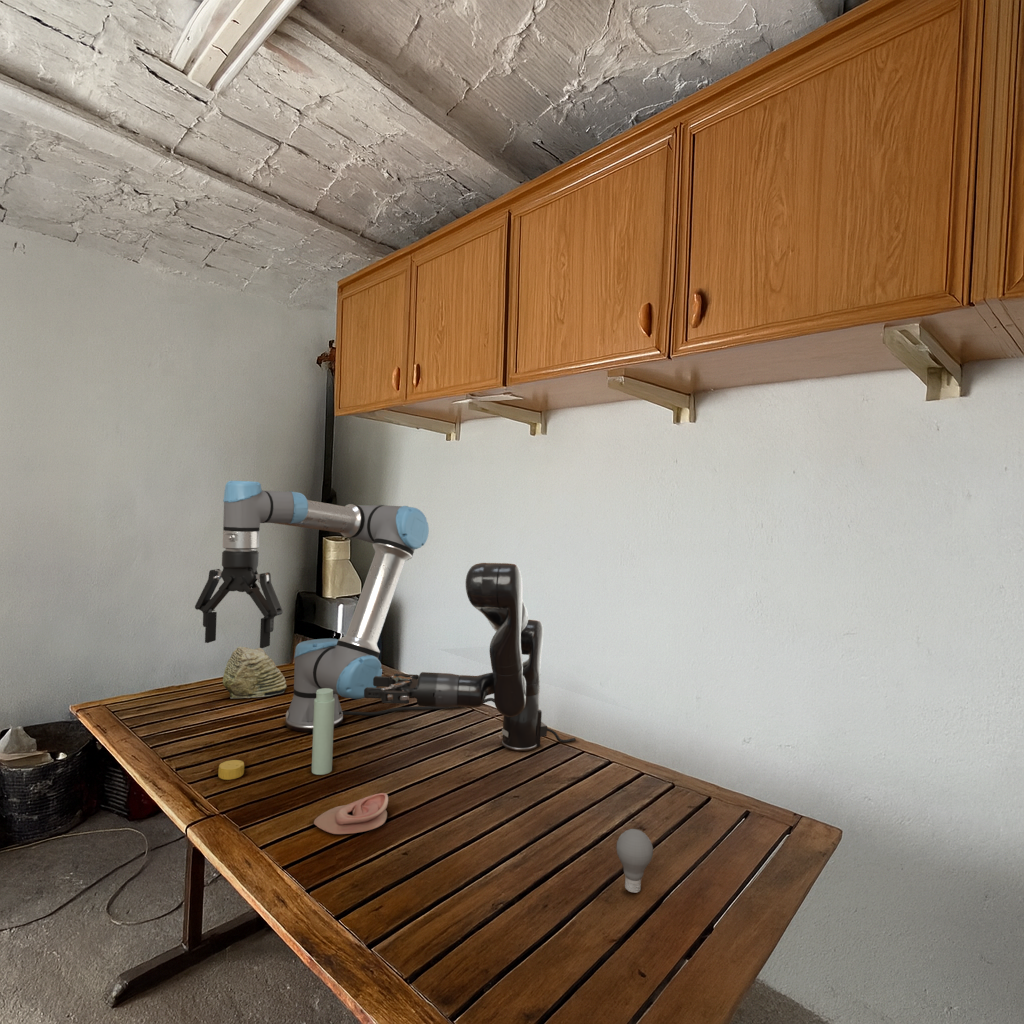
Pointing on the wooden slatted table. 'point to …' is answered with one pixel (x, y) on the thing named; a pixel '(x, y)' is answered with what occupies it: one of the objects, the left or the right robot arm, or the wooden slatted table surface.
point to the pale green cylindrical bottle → (323, 732)
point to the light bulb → (634, 857)
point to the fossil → (252, 674)
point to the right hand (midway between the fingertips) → (369, 686)
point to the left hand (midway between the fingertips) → (237, 644)
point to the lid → (231, 769)
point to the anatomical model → (355, 816)
